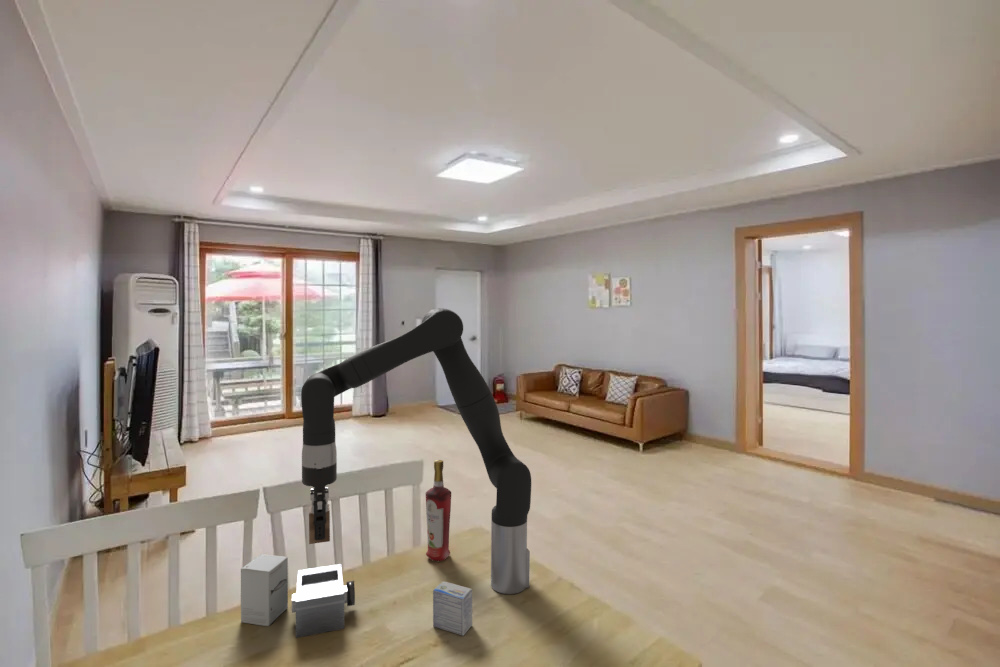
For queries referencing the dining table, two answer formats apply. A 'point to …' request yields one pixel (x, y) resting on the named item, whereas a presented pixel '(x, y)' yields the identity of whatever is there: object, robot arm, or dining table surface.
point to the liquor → (438, 516)
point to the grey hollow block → (319, 600)
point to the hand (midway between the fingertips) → (319, 534)
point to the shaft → (348, 595)
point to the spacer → (312, 527)
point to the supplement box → (264, 589)
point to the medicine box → (452, 608)
